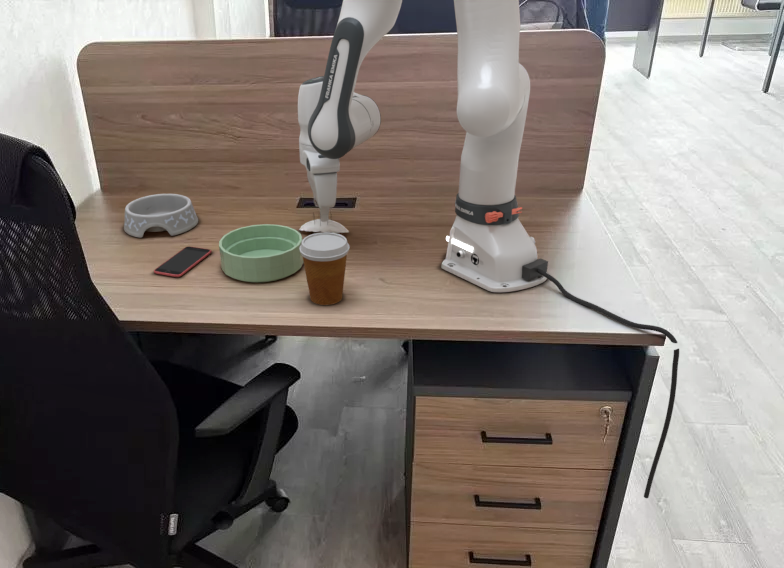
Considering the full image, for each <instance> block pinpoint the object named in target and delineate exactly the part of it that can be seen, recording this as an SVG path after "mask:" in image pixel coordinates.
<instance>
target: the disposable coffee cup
mask: <svg viewBox="0 0 784 568" xmlns="http://www.w3.org/2000/svg"><path fill="white" fill-rule="evenodd" d="M350 247H351V246H350V244H349V243H348V240H347V238H346V236H344V235H342V234H340V233H332V232H321V233H320V232H314V233H312V234H308V235H307V236H305V237H303V238H302V243H301V246H300V248H299V249H300V252H301V255H302V256H303V261H304V263H303V266H304V267H303V268H304V272H305V278H306V282H307V287H308V292H309V299H310V301H311V302H312V303H314V304H316V305H320V306H331V305H335V304H338V303H339V302H341V301H342V299H343V294H344V285H345V284H344V283H345V275H346V266H347V259H348V258H347V257H348V253H349V251H350Z"/></svg>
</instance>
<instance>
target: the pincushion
mask: <svg viewBox="0 0 784 568" xmlns="http://www.w3.org/2000/svg"><path fill="white" fill-rule="evenodd" d="M331 212H332V210H331V209H329V213H330V216H329V217H330V218H333V215H332V213H331ZM312 214H313V215H312V217H313V219H312V220H309V221H306V222H305V223H303V224H302V225H301V226H300V228H299V229H298V231H301V232H313V233H323V232H329V233H337V234H340V233H341V234H343V233H350V231H349V230H348V229H347V228H346V226H345V225H343V224H341V223H340V222H338V221H336V220H333V219H329V220H328V221H325V222H322V221H321V219H320V218H315V213H314V212H312Z"/></svg>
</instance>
